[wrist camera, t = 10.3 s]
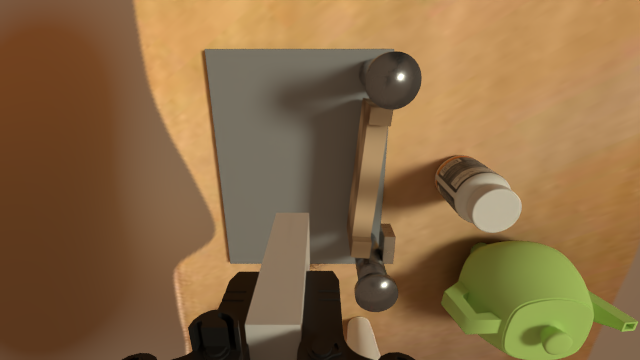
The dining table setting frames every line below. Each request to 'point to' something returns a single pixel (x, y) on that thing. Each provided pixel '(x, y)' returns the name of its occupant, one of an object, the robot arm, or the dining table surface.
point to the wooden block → (366, 176)
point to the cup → (362, 338)
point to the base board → (288, 144)
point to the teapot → (527, 301)
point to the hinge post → (391, 79)
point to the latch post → (377, 274)
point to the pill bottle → (478, 194)
